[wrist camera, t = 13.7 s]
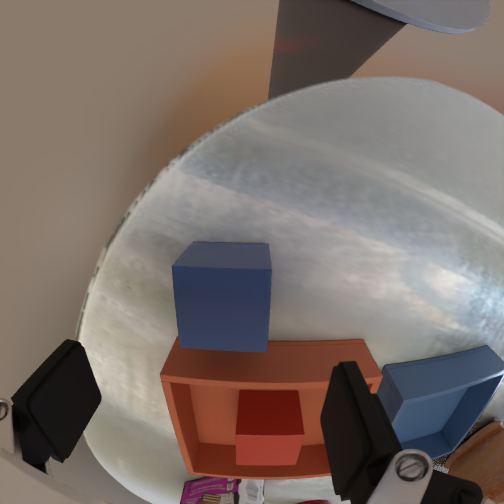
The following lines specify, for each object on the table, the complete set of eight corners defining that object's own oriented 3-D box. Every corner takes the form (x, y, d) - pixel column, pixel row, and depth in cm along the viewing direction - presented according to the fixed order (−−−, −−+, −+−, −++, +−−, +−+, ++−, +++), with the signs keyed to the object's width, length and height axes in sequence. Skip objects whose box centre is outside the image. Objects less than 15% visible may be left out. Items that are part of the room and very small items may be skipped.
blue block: (193, 241, 18) (171, 266, 13) (268, 243, 17) (272, 269, 13) (196, 308, 19) (179, 347, 14) (265, 311, 19) (267, 352, 14)
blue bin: (384, 365, 20) (403, 400, 16) (487, 344, 20) (509, 367, 16) (346, 452, 24) (353, 482, 20) (440, 429, 24) (452, 452, 20)
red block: (239, 389, 20) (234, 434, 16) (298, 390, 20) (305, 434, 16) (239, 423, 22) (236, 464, 17) (291, 424, 22) (295, 465, 17)
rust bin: (177, 335, 20) (159, 374, 15) (363, 338, 19) (383, 376, 15) (195, 440, 24) (188, 473, 19) (329, 441, 23) (335, 474, 19)
